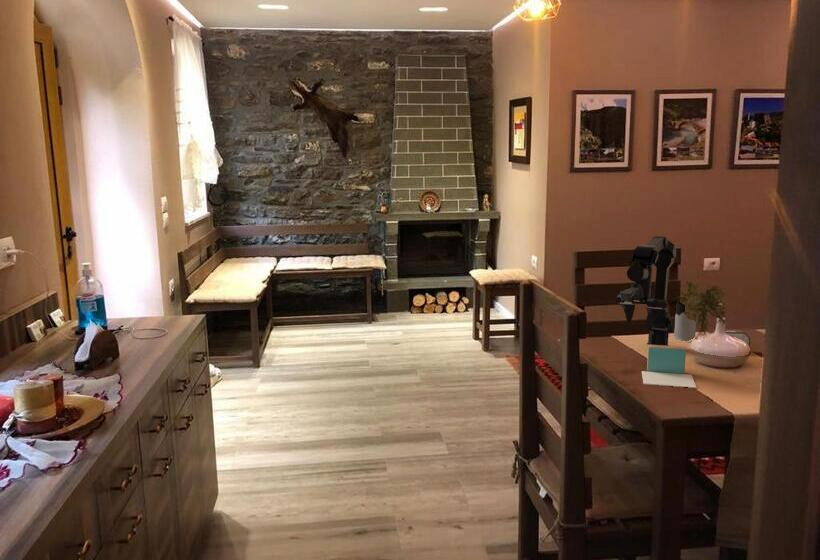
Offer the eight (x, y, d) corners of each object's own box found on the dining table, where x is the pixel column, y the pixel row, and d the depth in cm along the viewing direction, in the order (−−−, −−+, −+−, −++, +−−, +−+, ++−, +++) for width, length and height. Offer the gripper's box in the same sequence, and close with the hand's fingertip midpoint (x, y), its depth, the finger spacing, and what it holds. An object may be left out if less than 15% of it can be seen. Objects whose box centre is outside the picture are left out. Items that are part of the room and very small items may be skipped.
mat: (641, 372, 230) (641, 371, 230) (691, 375, 225) (691, 374, 225) (643, 384, 217) (643, 383, 217) (696, 388, 213) (696, 387, 213)
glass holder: (677, 342, 267) (679, 305, 264) (665, 332, 281) (667, 298, 278) (699, 342, 266) (701, 305, 264) (686, 332, 280) (688, 298, 278)
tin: (747, 350, 254) (749, 329, 252) (750, 353, 251) (752, 331, 249) (706, 350, 255) (708, 328, 254) (709, 352, 252) (710, 330, 251)
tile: (646, 369, 233) (648, 344, 232) (683, 371, 230) (685, 346, 228) (647, 372, 230) (648, 347, 228) (684, 375, 227) (686, 349, 225)
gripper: (606, 278, 240) (602, 321, 240) (646, 282, 223) (642, 329, 224) (629, 279, 245) (625, 321, 246) (670, 284, 228) (665, 329, 229)
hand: (638, 325), depth 236 cm, fingers open, 9 cm apart
